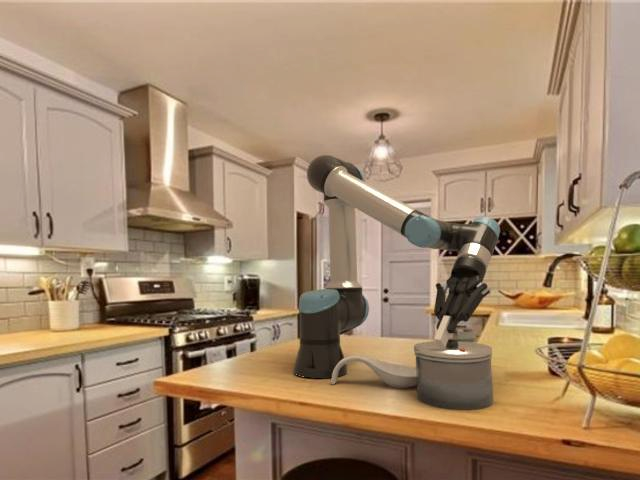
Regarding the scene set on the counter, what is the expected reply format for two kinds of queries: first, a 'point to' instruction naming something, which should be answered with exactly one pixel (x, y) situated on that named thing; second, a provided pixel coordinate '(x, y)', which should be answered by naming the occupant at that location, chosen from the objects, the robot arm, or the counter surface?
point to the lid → (453, 350)
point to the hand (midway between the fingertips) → (439, 343)
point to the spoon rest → (382, 371)
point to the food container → (464, 335)
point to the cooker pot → (454, 382)
